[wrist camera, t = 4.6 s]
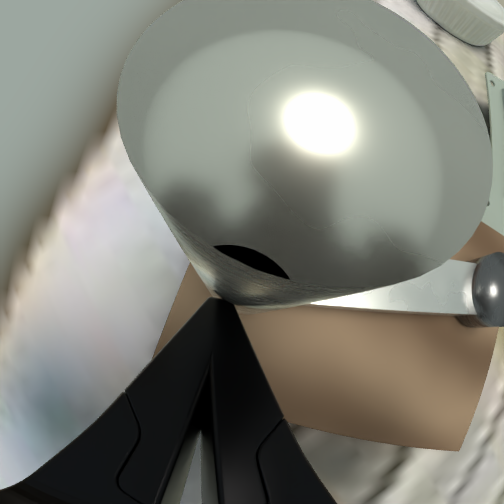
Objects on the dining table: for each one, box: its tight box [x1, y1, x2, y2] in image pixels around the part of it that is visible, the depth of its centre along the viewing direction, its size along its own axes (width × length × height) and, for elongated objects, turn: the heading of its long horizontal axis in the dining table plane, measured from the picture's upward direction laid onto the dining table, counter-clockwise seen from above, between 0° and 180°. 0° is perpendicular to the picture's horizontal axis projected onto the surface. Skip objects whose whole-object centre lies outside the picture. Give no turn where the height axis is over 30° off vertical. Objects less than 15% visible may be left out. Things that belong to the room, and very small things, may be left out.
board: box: [152, 221, 504, 451], centre depth 14 cm, size 13×17×1 cm
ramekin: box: [416, 0, 504, 46], centre depth 19 cm, size 11×11×5 cm
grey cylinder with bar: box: [117, 0, 504, 328], centre depth 8 cm, size 16×4×11 cm, turn 84°
